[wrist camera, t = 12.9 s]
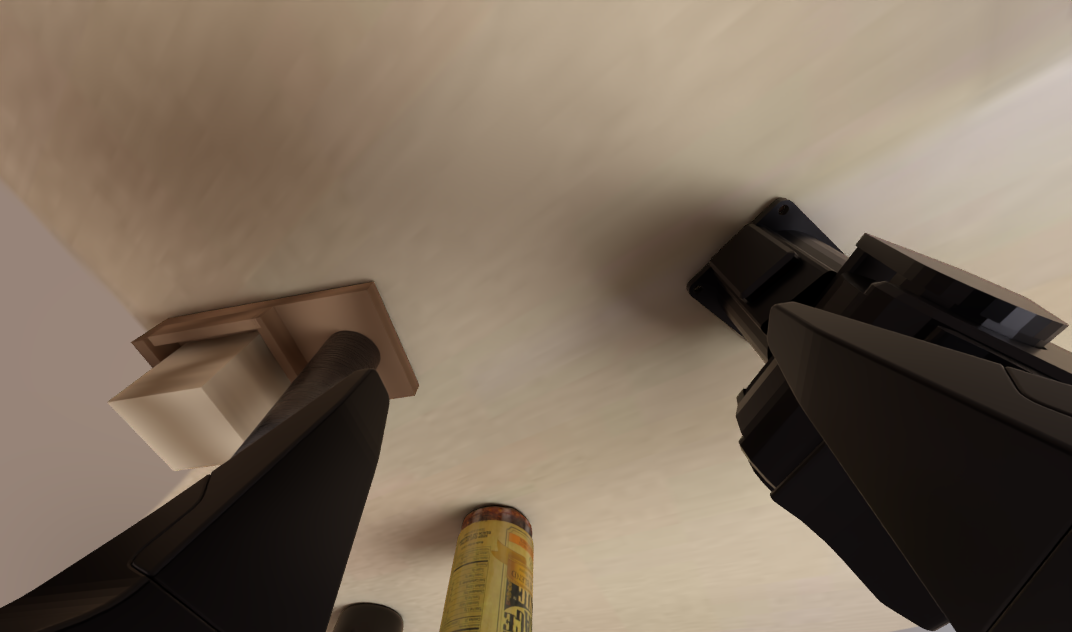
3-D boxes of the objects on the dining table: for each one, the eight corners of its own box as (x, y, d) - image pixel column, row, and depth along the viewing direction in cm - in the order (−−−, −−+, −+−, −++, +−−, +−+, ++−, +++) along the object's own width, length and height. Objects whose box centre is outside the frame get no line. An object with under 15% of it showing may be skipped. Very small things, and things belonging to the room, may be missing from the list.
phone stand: (373, 281, 23) (233, 453, 12) (419, 385, 26) (341, 583, 16) (167, 318, 24) (-117, 502, 13) (239, 411, 28) (59, 611, 17)
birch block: (264, 329, 23) (200, 387, 19) (305, 395, 25) (258, 459, 21) (186, 343, 23) (106, 402, 19) (234, 406, 26) (173, 471, 22)
